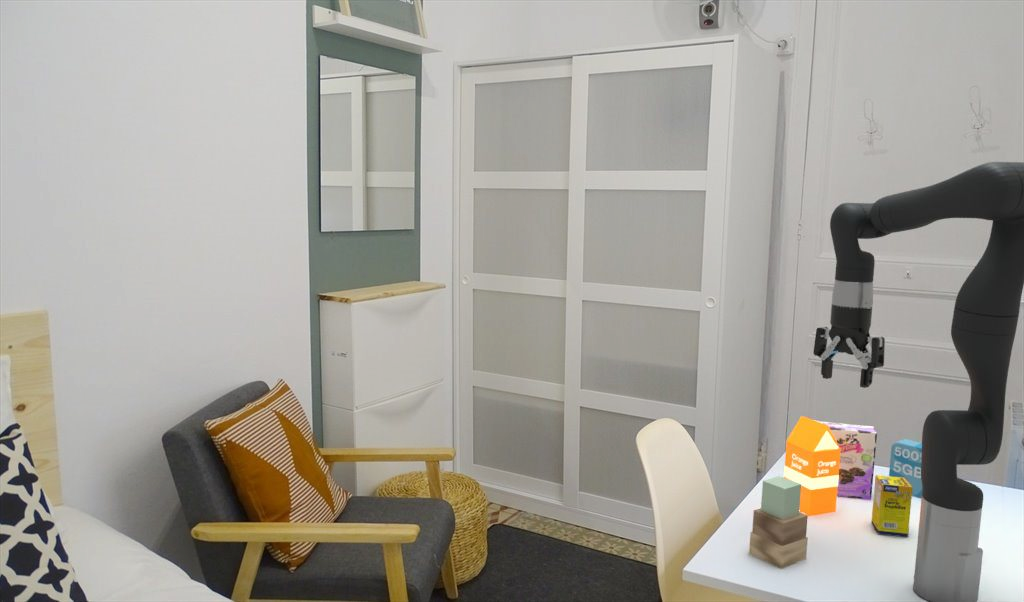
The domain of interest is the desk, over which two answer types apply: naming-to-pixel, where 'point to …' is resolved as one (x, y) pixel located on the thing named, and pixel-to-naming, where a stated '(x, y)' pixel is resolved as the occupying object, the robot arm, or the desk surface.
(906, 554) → the desk surface
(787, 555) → the oak block
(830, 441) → the orange juice
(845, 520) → the desk surface
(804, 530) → the walnut block
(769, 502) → the green block
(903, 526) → the supplement box
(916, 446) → the data package
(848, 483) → the candy box
